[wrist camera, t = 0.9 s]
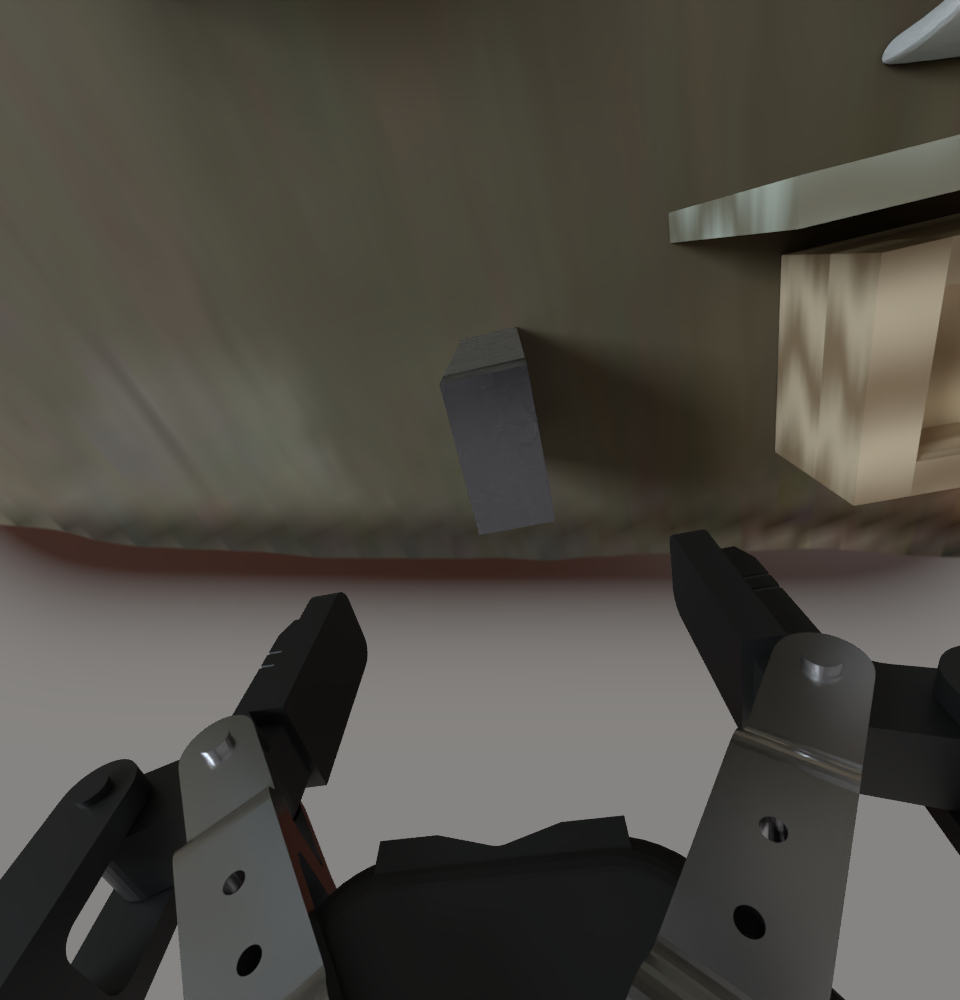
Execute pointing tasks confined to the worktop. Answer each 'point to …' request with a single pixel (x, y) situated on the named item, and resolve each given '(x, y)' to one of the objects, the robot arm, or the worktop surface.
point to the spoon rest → (928, 37)
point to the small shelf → (862, 323)
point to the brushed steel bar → (497, 432)
